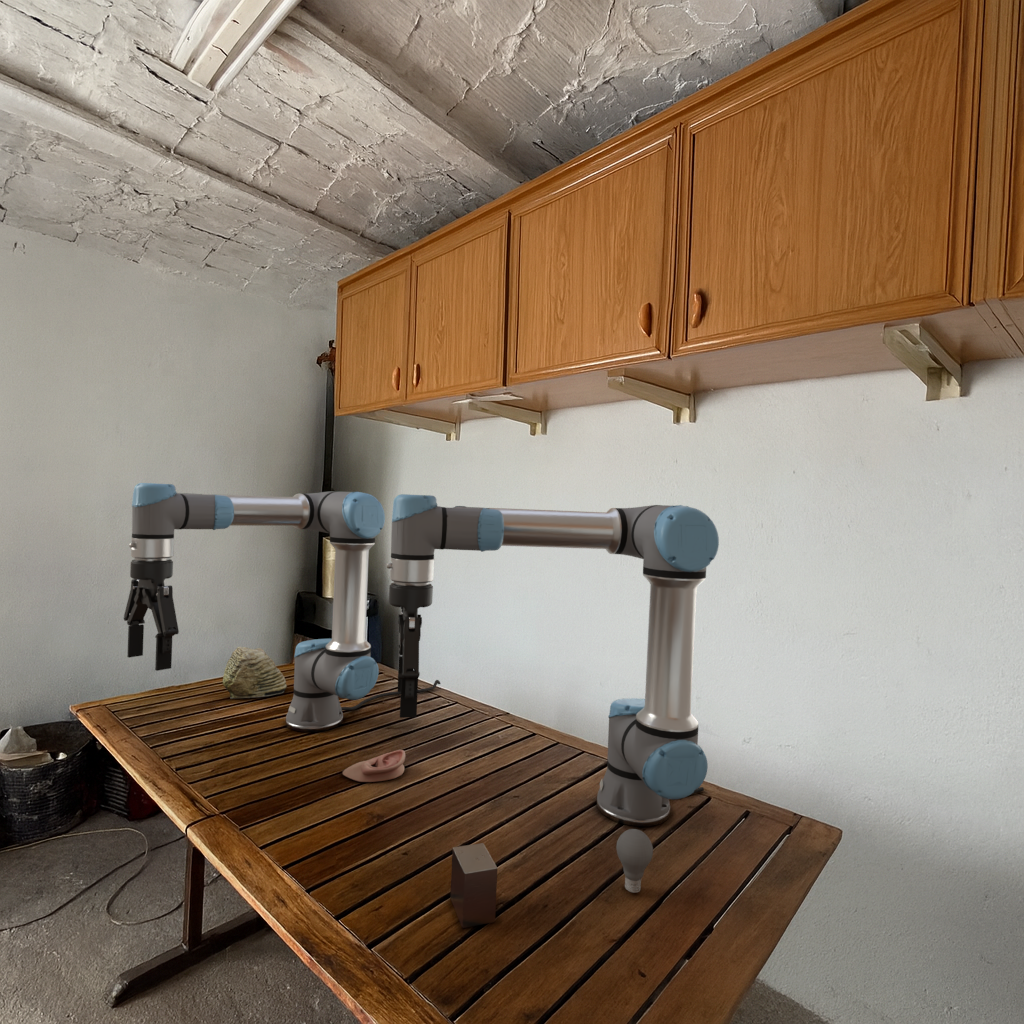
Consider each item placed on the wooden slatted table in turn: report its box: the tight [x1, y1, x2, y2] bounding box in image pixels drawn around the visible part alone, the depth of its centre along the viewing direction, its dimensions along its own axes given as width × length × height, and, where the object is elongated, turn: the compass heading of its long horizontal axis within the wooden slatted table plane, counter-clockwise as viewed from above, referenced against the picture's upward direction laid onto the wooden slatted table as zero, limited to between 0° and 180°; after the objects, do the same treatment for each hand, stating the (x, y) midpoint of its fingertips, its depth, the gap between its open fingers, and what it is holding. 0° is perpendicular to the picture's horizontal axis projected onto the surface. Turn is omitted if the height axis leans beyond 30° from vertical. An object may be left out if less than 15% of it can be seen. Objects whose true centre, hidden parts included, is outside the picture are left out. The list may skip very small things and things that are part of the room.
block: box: [449, 842, 498, 929], centre depth 99 cm, size 5×7×8 cm
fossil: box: [222, 646, 288, 699], centre depth 198 cm, size 9×18×15 cm, turn 132°
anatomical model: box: [342, 749, 406, 783], centre depth 146 cm, size 13×4×12 cm
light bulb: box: [615, 828, 654, 894], centre depth 106 cm, size 6×6×10 cm
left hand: (148, 662), depth 129 cm, fingers open, 13 cm apart
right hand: (406, 703), depth 111 cm, fingers open, 13 cm apart
